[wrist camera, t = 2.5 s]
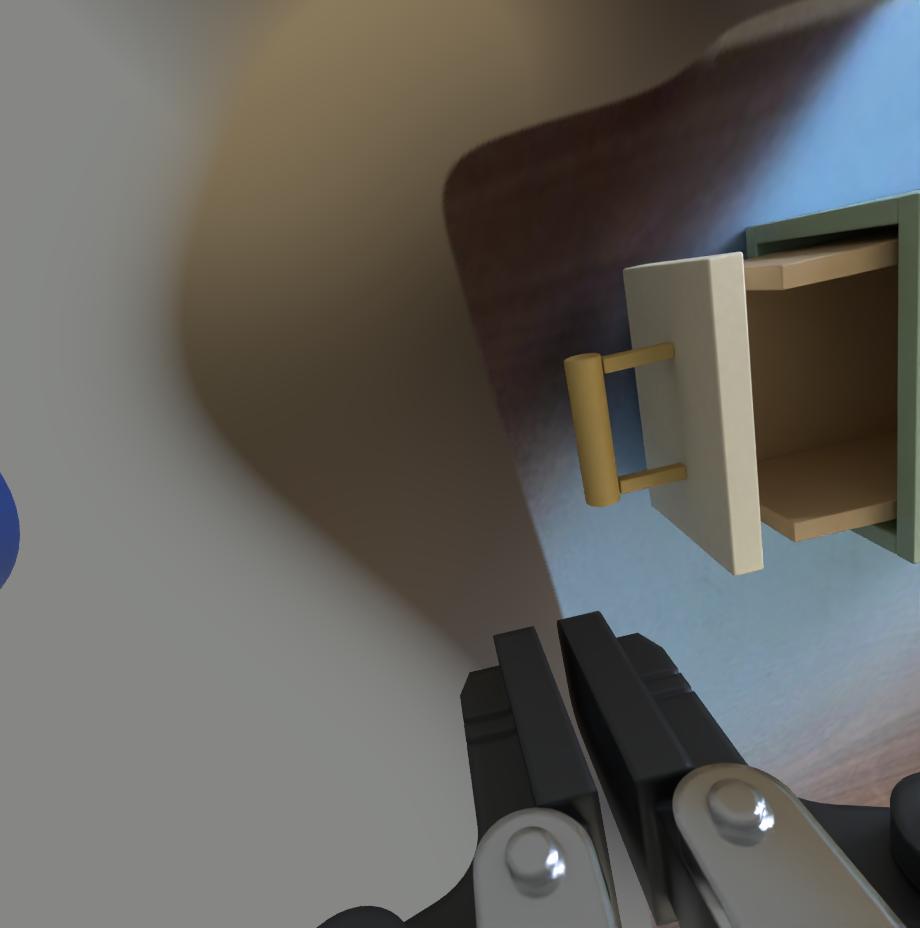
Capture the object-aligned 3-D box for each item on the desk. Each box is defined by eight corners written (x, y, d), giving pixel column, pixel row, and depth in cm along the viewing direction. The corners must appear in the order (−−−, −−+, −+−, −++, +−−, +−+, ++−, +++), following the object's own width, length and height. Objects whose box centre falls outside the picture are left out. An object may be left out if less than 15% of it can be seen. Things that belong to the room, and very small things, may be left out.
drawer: (568, 524, 29) (624, 603, 22) (529, 289, 26) (578, 287, 19) (910, 445, 30) (1079, 496, 22) (913, 205, 27) (1112, 169, 19)
